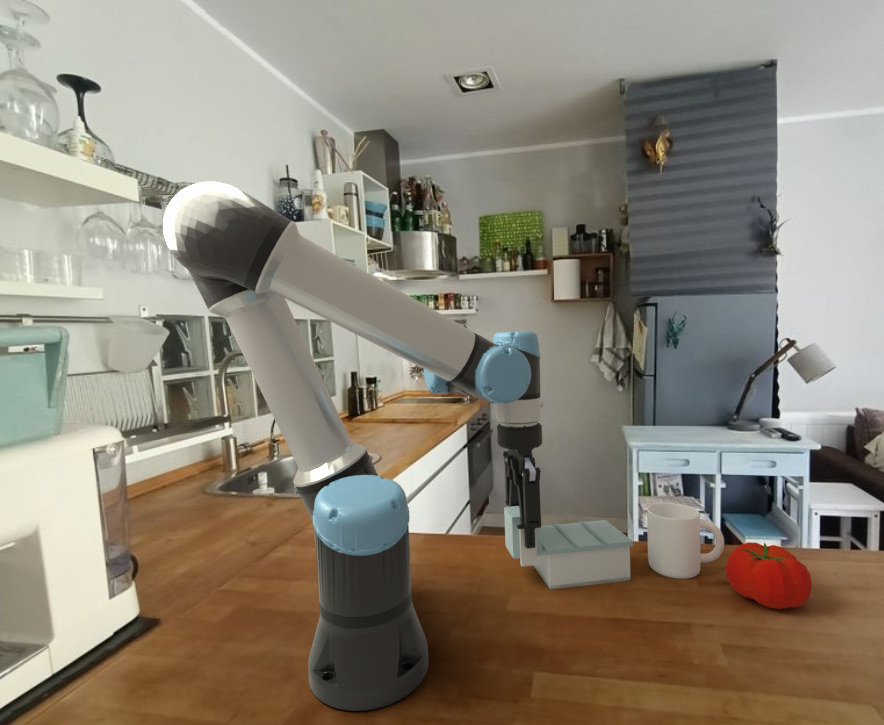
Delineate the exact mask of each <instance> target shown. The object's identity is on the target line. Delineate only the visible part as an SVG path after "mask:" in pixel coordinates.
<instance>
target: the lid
mask: <svg viewBox="0 0 884 725" xmlns="http://www.w3.org/2000/svg"><path fill="white" fill-rule="evenodd" d="M503 508H504V509H503V511H504V514H503V515H504V539H505V541H504V542H505V547H506V549H507V551H508V552H509V554H510V556H511V558H512V559H520V538H519V529H518V528H517V525H521V519H520V509H519V506H511V507H509V506H504V507H503ZM536 534H537V556H543V554H542V549H543V550H544V551H545V553H546V554H547V555H552V554H562V553H571V552H581V551H590V550H600V549H610V548H619V547H629V546H630V547H633V546H634V541H633V540H632V539H631V538H630V537H629V536H627V535H626V534H625V533H623V532H622V531H621V530H619V529H618V528H617V527H616V526H614V525H613V524H612V523H610V522H609V521H608V520H607V519H601V520H589V521H583V520H579V521H578V522H568V523H561V524H560V523H558V524H557V523H556V522H554V523H552V524H549V525H543V524H542V523H541V528H536Z"/></svg>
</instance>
